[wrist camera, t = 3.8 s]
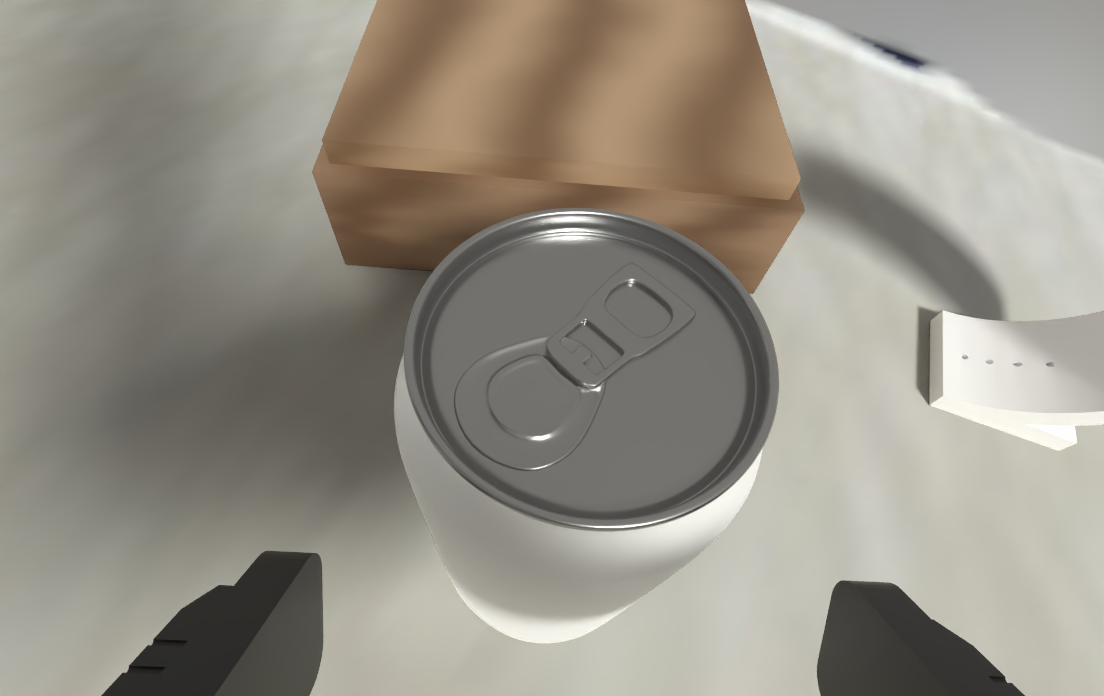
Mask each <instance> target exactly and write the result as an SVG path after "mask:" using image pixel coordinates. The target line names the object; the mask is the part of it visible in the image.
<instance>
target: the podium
mask: <svg viewBox="0 0 1104 696" xmlns="http://www.w3.org/2000/svg"><path fill="white" fill-rule="evenodd" d="M322 141H323V145H322V148H321V150H320V153H319V155H318V158H317V160H316V163H315V165H314V168H313V171H312V173H313V176H314V179H315V181H316V184H317V187H318V190H319V192H320V195H321V198H322V201H323V203H324V206H325V209H326V212H327V214H328V217H329V220H330V223H331V225H332V228H333V231H334V234H335V236H336V239H337V242H338V245H339V247H340V250H341V253H342V256H343V258H344V261H345V264H346V265H359V266H373V267H387V268H401V269H415V270H429V271H434V270H435V268H436V267H437V266H438V265H439V264H440V263H441V262H442V261H443V259H444V258H445V257H447V256H448V255H449V254H450V253H451V252H452V251H453V250H454V249H455V248H457V247H458V246H459V245H460V244H462V243H463V242H465V241H466V240H467V239H469V238H470V237H472V236H473V235H475V234H477V233H479V232H480V231H482V230H484V229H486V228H488V227H490V226H492V225H494V224H497V223H499V222H502V221H504V220H507V219H510V218H513V217H516V216H519V215H523V214H527V213H531V212H536V211H542V210H549V209H559V208H592V209H602V210H609V211H615V212H620V213H625V214H629V215H633V216H637V217H640V218H643V219H646V220H649V221H652V222H655V223H657V224H660V225H662V226H665V227H667V228H669V229H671V230H673V231H675V232H677V233H679V234H681V235H683V236H685V237H686V238H688V239H690V240H691V241H693V242H695V243H696V244H698V245H699V246H701V247H702V248H703V249H705V250H706V251H708V252H709V253H710V254H711V255H713V256H714V257H715V258H716V259H718V260H719V261H720V262H721V263H722V264H723V265H724V266H725V267H726V268H727V269H728V270H729V271H730V272H731V273H732V274H733V275H734V276H735V277H736V278H737V279H738V280H739V281H740V283H741V284H742V285H743V286H744V288H745V289H746V290H747V292H748V293H751V294H753V293H754V292H755V290H756V288H757V287H758V285H759V284H760V282H761V280H762V279H763V277H764V275H765V274H766V272H767V271H768V269H769V267H770V266H771V264H772V263H773V261H774V259H775V258H776V256H777V255H778V253H779V251H780V250H781V248H782V247H783V245H784V243H785V242H786V240H787V238H788V237H789V235H790V234H791V232H792V230H793V229H794V227H795V226H796V224H797V222H798V221H799V219H800V218H801V216H802V214H803V213H804V211H805V210H804V207H803V203H802V200H801V197H800V193H799V190H798V187H797V185H798V184H799V182H800V180H801V177H800V174H799V171H798V168H797V165H796V162H795V158H794V155H793V152H792V149H791V146H790V142H789V139H788V136H787V133H786V130H785V127H784V123H783V120H782V117H781V114H780V111H779V107H778V104H777V101H776V98H775V95H774V92H773V88H772V85H771V82H770V79H769V76H768V73H767V69H766V66H765V63H764V60H763V57H762V53H761V50H760V47H759V44H758V41H757V38H756V34H755V31H754V28H753V25H752V22H751V19H750V15H749V12H748V9H747V6H746V3H745V0H377V2H376V5H375V7H374V10H373V13H372V15H371V18H370V20H369V23H368V25H367V28H366V30H365V33H364V35H363V38H362V40H361V43H360V45H359V48H358V50H357V53H356V56H355V58H354V61H353V63H352V66H351V68H350V71H349V73H348V76H347V78H346V81H345V83H344V86H343V88H342V91H341V93H340V96H339V99H338V101H337V104H336V106H335V109H334V111H333V114H332V116H331V119H330V121H329V124H328V126H327V129H326V131H325V134H324V136H323V139H322Z"/></svg>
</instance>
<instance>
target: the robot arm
mask: <svg viewBox="0 0 1104 696" xmlns="http://www.w3.org/2000/svg"><path fill="white" fill-rule="evenodd" d="M322 650H323V599H322V563H321V559H320V556H319V555H318V554H317V553H300V552H279V551H265V552H263V553H262V554H261V555H260V556H259V557H258V558H257V559H256V560H255V561H254V562H253V564H252V565H251V566H250V567H249V568H248V570H247V571H246V572H245V573H244V574H243V576H242V577H241V578H240V579H239V580H238V582H237V583H236V584H235V585H234V586H226V585H218V586H217V587H215V588H214V589H212V590H211V591H209V592H207V593H206V594H204V595H203V596H201V597H200V598H198V599H196V600H195V601H193V602H192V603H190V604H189V605H187V606H186V607H184V608H182V609H181V610H180V611H179V612H178V613H177V614H176V616H175V617H174V618H173V619H172V620H171V621H170V622H169V623H168V624H167V625H166V626H165V627H164V629H163V630H162V631H161V632H160V633H159V634H158V635H157V636H156V637H155V638H154V641H153V644H152V645H151V646H149V645H148V646H147V647H146V648H145V649H144V650H143V651H142V652H141V653H140V654H139V656H138V657H137V658H136V659H135V660H134V661H133V662H132V663H131V664H130V665H129V669H128V671H127V673H122V674H121V675H120V676H119V677H118V678H117V679H116V680H115V682H114V683H113V684H112V685H111V686H110V687H109V688H108V689H107V690H106V691H105V692H104V693H103V695H102V696H309V695H310V693H311V691H312V688H313V686H314V683H315V681H316V677H317V674H318V671H319V667H320V662H321V657H322ZM817 678H818V685H819V690H820V694H821V696H1025V695H1024V694H1023V693H1021V692H1020V691H1019V690H1018V689H1017V688H1016V687H1015V686H1014V685H1013V684H1012V683H1007V682H1006V680H1005V676H1004V675H1003V674H1002V673H1001V672H1000V671H999V670H998V669H997V668H996V667H994V666H993V665H992V664H991V663H990V662H989V661H988V660H987V659H986V658H985V657H984V656H983V655H982V654H981V653H980V652H979V651H978V650H977V649H976V648H975V647H974V646H973V645H971V644H969V643H968V642H966V641H965V640H963V639H962V638H960V637H959V636H957V635H956V634H954V633H953V632H951V631H950V630H948V629H947V628H945V627H944V626H942V625H941V624H939V623H938V622H936V621H934V620H931V619H930V618H929V617H928V616H927V615H926V614H925V613H924V612H923V611H922V610H921V609H920V608H919V607H918V606H917V605H916V604H915V603H914V602H913V601H912V600H911V599H910V598H909V597H908V596H907V595H906V594H905V593H904V592H903V591H902V590H901V589H900V588H899V587H898V586H896V585H894V584H892V583H884V582H864V581H840V582H838V583H837V584H836V586H835V587H834V589H833V592H832V596H831V601H830V606H829V610H828V615H827V620H826V625H825V630H824V634H823V639H822V644H821V649H820V653H819V658H818V664H817Z"/></svg>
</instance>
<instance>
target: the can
mask: <svg viewBox="0 0 1104 696" xmlns="http://www.w3.org/2000/svg"><path fill="white" fill-rule="evenodd" d="M778 394H779V372H778V363H777V357H776V352H775V348H774V344H773V341H772V338H771V334H770V332H769V329H768V327H767V324H766V322H765V320H764V318H763V316H762V314H761V312H760V310H759V308H758V307H757V305H756V303H755V302H754V300H753V299H752V297H751V296H750V294H749V293H748V292H747V290H746V289H745V288H744V286H743V285H742V284H741V283H740V281H739V280H738V279H737V278H736V277H735V276H734V275H733V274H732V273H731V272H730V271H729V270H728V269H727V268H726V267H725V266H724V265H723V264H722V263H721V262H720V261H719V260H718V259H716V258H715V257H714V256H713V255H711V254H710V253H709V252H708V251H706V250H705V249H703V248H702V247H701V246H699V245H698V244H696V243H695V242H693V241H691V240H690V239H688V238H686V237H685V236H683V235H681V234H679V233H677V232H675V231H673V230H671V229H669V228H667V227H665V226H662V225H660V224H657V223H655V222H652V221H649V220H646V219H643V218H640V217H637V216H633V215H629V214H625V213H620V212H615V211H609V210H602V209H592V208H559V209H549V210H542V211H536V212H531V213H527V214H523V215H519V216H516V217H513V218H510V219H507V220H504V221H502V222H499V223H497V224H494V225H492V226H490V227H488V228H486V229H484V230H482V231H480V232H479V233H477V234H475V235H473V236H472V237H470V238H469V239H467V240H466V241H465V242H463V243H462V244H460V245H459V246H458V247H457V248H455V249H454V250H453V251H452V252H451V253H450V254H449V255H448V256H447V257H445V258H444V259H443V261H442V262H441V263H440V264H439V265H438V266H437V267H436V268H435V270H434V271H433V272H432V273H431V275H430V276H429V278H428V279H427V281H426V282H425V284H424V285H423V287H422V289H421V290H420V292H419V294H418V296H417V298H416V300H415V303H414V305H413V308H412V310H411V313H410V316H409V320H408V324H407V328H406V334H405V341H404V354H403V356H402V359H401V362H400V366H399V369H398V374H397V378H396V384H395V393H394V419H395V428H396V436H397V442H398V447H399V451H400V455H401V458H402V461H403V464H404V467H405V470H406V474H407V476H408V479H409V482H410V484H411V487H412V490H413V492H414V495H415V497H416V500H417V502H418V504H419V507H420V509H421V512H422V514H423V516H424V519H425V521H426V524H427V526H428V528H429V531H430V533H431V536H432V538H433V540H434V543H435V545H436V547H437V550H438V552H439V554H440V556H441V559H442V561H443V563H444V566H445V568H446V570H447V572H448V574H449V577H450V579H451V581H452V583H453V585H454V587H455V589H456V590H457V592H458V593H459V595H460V596H461V598H462V599H463V601H464V602H465V603H466V604H467V605H468V607H469V608H470V609H471V610H472V611H473V612H474V613H475V614H476V615H477V616H479V617H480V618H481V619H482V620H483V621H485V622H486V623H487V624H489V625H490V626H491V627H493V628H494V629H496V630H498V631H499V632H501V633H503V634H505V635H507V636H510V637H512V638H515V639H518V640H522V641H526V642H533V643H557V642H563V641H568V640H571V639H575V638H578V637H580V636H583V635H585V634H587V633H589V632H591V631H593V630H595V629H596V628H598V627H600V626H601V625H603V624H604V623H606V622H607V621H609V620H610V619H612V618H613V617H615V616H616V615H618V614H619V613H620V612H622V611H623V610H625V609H626V608H627V607H629V606H630V605H632V604H633V603H635V602H636V601H637V600H639V599H640V598H641V597H643V596H644V595H646V594H647V593H648V592H650V591H651V590H653V589H654V588H655V587H657V586H658V585H659V584H661V583H662V582H664V581H665V580H666V579H668V578H669V577H670V576H672V575H673V574H674V573H676V572H677V571H678V570H680V569H681V568H682V567H684V566H685V565H686V564H688V563H689V562H690V561H691V560H693V559H694V558H695V557H696V556H698V555H699V554H700V553H701V552H702V551H703V550H704V549H706V548H707V547H708V546H709V545H710V544H711V543H712V542H713V541H714V540H715V539H716V538H717V537H718V536H719V535H720V534H721V533H722V532H723V531H724V530H725V528H726V527H727V526H728V525H729V523H730V522H731V521H732V519H733V518H734V517H735V515H736V514H737V512H738V511H739V510H740V508H741V506H742V505H743V503H744V501H745V500H746V498H747V496H748V494H749V492H750V490H751V488H752V485H753V483H754V480H755V478H756V475H757V471H758V468H759V464H760V460H761V455H762V449H763V446H764V444H765V442H766V440H767V438H768V435H769V433H770V430H771V428H772V424H773V421H774V418H775V414H776V409H777V403H778Z"/></svg>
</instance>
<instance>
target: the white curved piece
mask: <svg viewBox="0 0 1104 696" xmlns="http://www.w3.org/2000/svg"><path fill="white" fill-rule="evenodd" d="M929 405H930V406H933V407H936V408H939V409H941V410H944V411H947V412H950V413H953V414H956V415H958V416H961V417H964V418H967V419H970V420H972V421H975V422H978V423H981V424H984V425H987V426H989V427H992V428H995V429H998V430H1001V431H1004V432H1006V433H1009V434H1012V435H1015V436H1018V437H1020V438H1023V439H1026V440H1029V441H1032V442H1035V443H1037V444H1040V445H1043V446H1046V447H1049V448H1051V449H1054V450H1057V451H1060V450H1062V449H1064V448H1067V447H1069V446H1071V445H1074V444H1076V443H1077V438H1076V431H1075V426H1083V425H1103V424H1104V311H1101V312H1096V313H1092V314H1088V315H1082V316H1076V317H1070V318H1063V319H1054V320H1043V321H998V320H987V319H979V318H972V317H967V316H962V315H958V314H954V313H951V312H947V311H944V310H942V311H941V312H940V313H939V314H938V315H937V316H936V317H934V318H933V319H932V320H931V321H930V389H929Z"/></svg>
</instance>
